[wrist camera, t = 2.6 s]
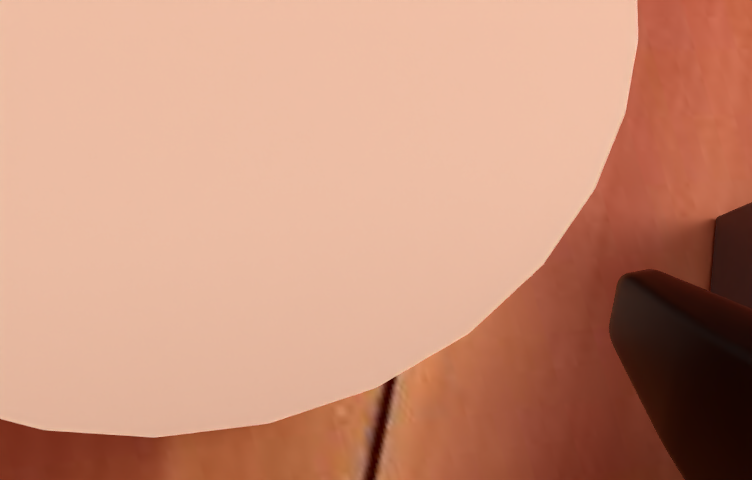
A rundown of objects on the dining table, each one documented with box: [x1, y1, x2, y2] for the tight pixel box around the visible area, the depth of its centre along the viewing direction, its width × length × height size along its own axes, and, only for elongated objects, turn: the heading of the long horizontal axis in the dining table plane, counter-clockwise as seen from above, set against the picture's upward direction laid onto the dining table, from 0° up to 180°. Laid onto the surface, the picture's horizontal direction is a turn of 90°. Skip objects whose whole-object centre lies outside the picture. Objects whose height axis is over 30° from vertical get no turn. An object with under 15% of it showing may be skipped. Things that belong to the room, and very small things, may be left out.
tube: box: [0, 0, 638, 438], centre depth 10 cm, size 4×4×15 cm
